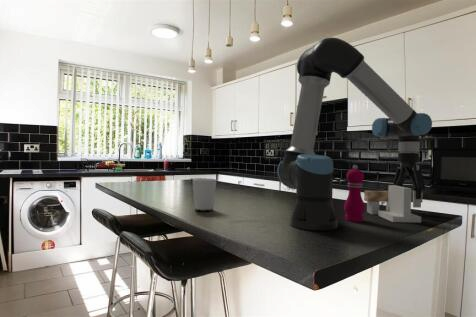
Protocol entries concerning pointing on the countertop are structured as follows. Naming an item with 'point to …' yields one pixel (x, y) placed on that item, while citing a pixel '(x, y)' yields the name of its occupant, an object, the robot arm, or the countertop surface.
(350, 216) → the pepper mill
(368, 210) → the rest blocks
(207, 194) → the cup
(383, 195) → the oak batten
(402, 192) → the ridge stand
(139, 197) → the countertop surface
